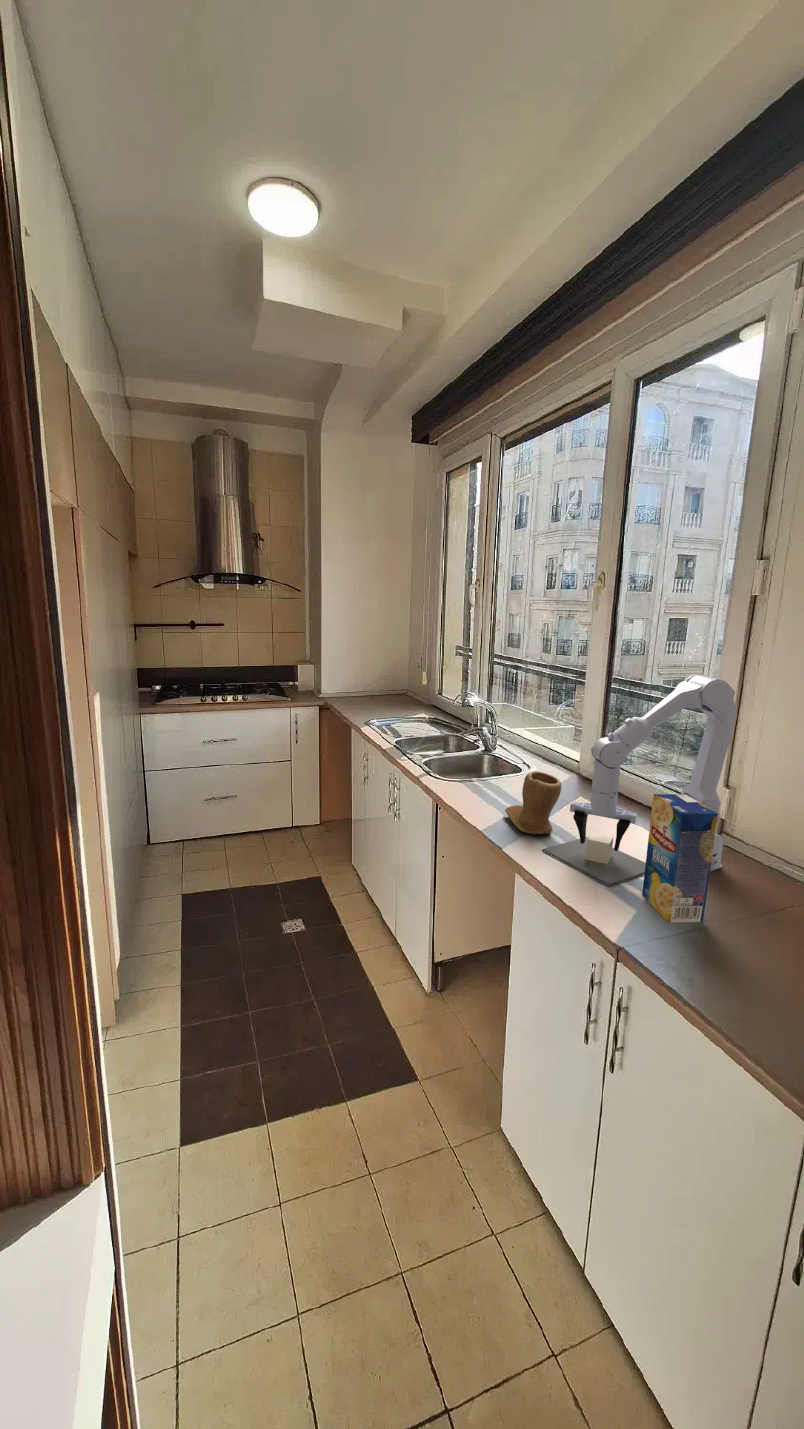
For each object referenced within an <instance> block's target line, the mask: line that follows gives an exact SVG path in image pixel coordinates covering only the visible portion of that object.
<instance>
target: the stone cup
mask: <svg viewBox="0 0 804 1429" xmlns="http://www.w3.org/2000/svg"><path fill="white" fill-rule="evenodd" d="M523 780H524V781H523V784H522V793H521V795H522V805H510V806H507V807H506V808H505V809H504V811H505V813H506V815H507V816H508V818H509V819H510V821H511V822H512V823H513V825H514V826H516V828H517V829H518V830H520V831H521V833H522V832H523V833H525V834H529V835H530V834H531V835H546V834H550V833H551V832H553V827H552V824H551V822H550V820H549V819H550V815H551V813H552V811H553V809H554V807H555V805H556V803H557V801H559V798H560V796H561V793H562V792H561V791H562V782H561V781H560V779H559V778H557V777H556V776H553V775H551V774H549V773H546V772H542V771H536V770H533V771H530V772H528V773H527V774H526V775H525V777H524V779H523Z"/></svg>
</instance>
